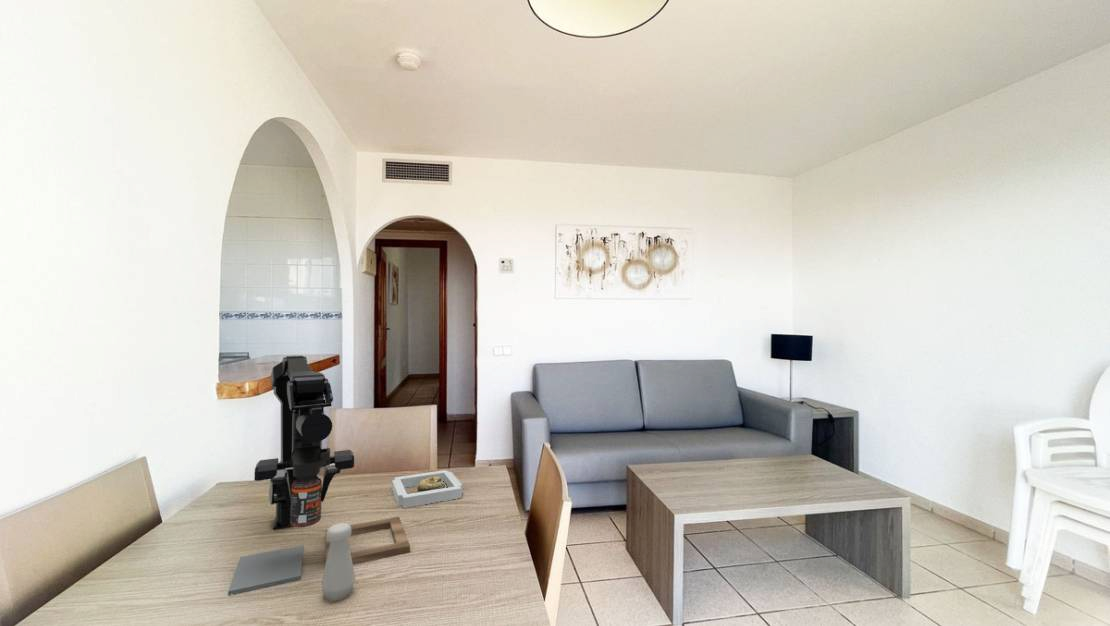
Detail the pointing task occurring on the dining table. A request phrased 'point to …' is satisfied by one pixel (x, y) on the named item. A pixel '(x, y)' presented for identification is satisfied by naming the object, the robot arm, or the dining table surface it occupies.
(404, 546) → the frame
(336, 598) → the salt shaker
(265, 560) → the grey flat slab
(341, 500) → the dining table surface
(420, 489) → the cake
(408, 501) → the grey bread rim
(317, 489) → the supplement bottle
